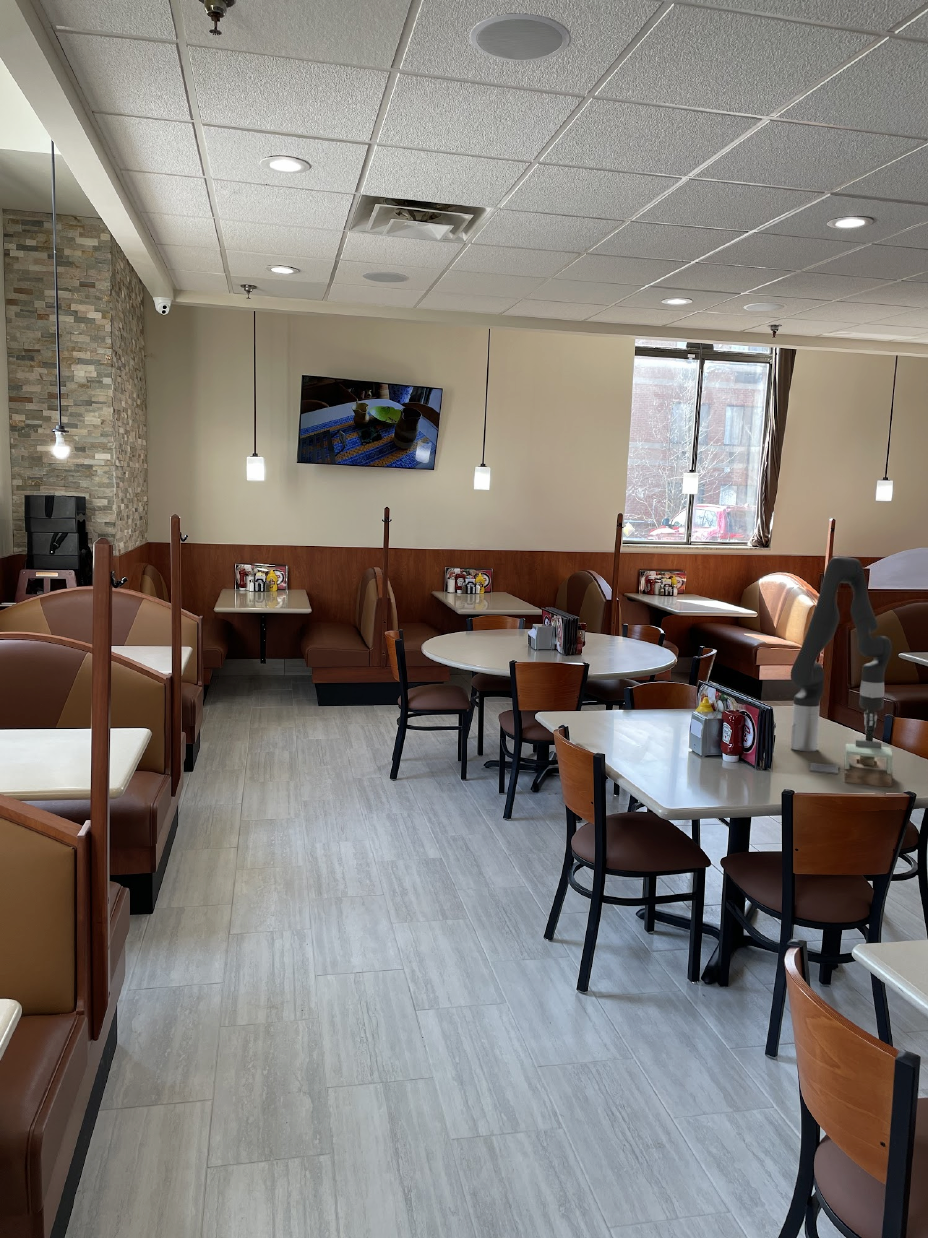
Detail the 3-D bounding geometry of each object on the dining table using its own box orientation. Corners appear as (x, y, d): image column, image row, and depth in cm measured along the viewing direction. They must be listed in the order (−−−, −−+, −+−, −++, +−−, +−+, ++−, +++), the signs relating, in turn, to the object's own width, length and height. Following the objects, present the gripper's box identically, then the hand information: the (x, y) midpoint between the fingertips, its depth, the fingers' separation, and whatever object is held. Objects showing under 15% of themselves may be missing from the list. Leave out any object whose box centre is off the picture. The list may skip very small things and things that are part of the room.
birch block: (859, 767, 310) (860, 750, 310) (859, 764, 314) (860, 747, 314) (873, 769, 309) (874, 752, 308) (873, 765, 313) (874, 748, 312)
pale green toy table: (845, 768, 302) (846, 745, 301) (844, 760, 312) (846, 737, 311) (891, 773, 297) (892, 749, 296) (889, 765, 307) (890, 742, 306)
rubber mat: (809, 771, 311) (810, 769, 311) (810, 764, 319) (810, 762, 319) (838, 774, 307) (838, 772, 307) (838, 767, 316) (838, 765, 316)
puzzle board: (844, 782, 299) (845, 773, 298) (844, 762, 322) (844, 754, 321) (891, 787, 293) (891, 778, 293) (887, 767, 316) (887, 758, 316)
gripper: (859, 689, 314) (856, 738, 316) (860, 697, 302) (857, 747, 304) (883, 691, 311) (880, 740, 313) (885, 698, 299) (881, 749, 301)
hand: (868, 743), depth 309 cm, fingers closed
